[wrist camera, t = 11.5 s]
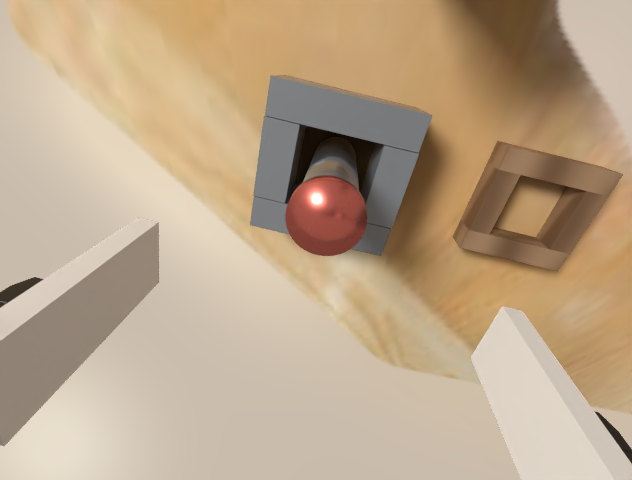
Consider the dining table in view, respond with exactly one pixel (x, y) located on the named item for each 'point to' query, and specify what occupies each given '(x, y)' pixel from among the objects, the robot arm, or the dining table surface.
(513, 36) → the dining table surface
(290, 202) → the lock pin
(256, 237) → the dining table surface
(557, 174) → the mount collar
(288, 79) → the block
